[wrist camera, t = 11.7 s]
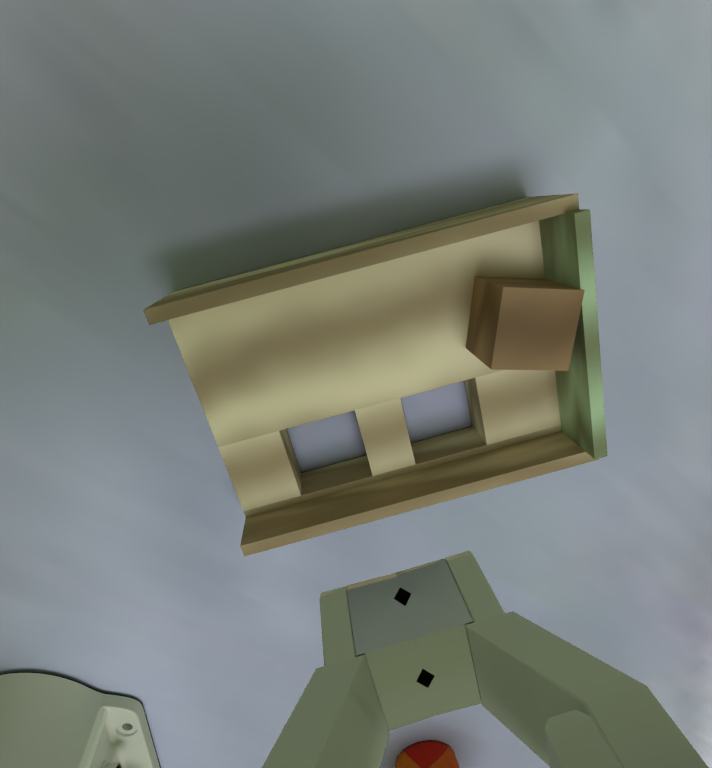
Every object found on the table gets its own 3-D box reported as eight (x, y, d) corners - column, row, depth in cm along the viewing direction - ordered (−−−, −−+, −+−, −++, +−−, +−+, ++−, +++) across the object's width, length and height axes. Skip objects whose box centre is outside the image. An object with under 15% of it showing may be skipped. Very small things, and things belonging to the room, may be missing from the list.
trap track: (552, 420, 36) (608, 467, 29) (254, 502, 36) (242, 567, 29) (527, 197, 30) (588, 192, 24) (173, 291, 30) (136, 313, 24)
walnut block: (532, 349, 31) (568, 370, 26) (465, 348, 30) (491, 369, 26) (545, 279, 29) (584, 289, 25) (474, 276, 29) (503, 287, 25)
